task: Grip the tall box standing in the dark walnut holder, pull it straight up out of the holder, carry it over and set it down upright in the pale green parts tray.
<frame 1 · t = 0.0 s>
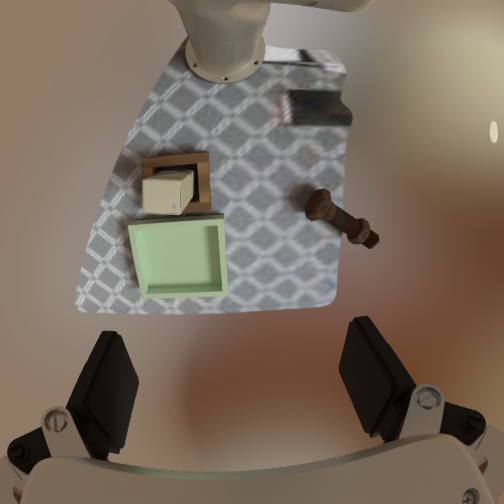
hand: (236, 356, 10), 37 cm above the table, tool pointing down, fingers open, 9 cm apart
box: (179, 181, 43), resting in holder
tray: (181, 255, 48), on the table
holder: (179, 181, 43), on the table
bolt: (340, 219, 48), on the table
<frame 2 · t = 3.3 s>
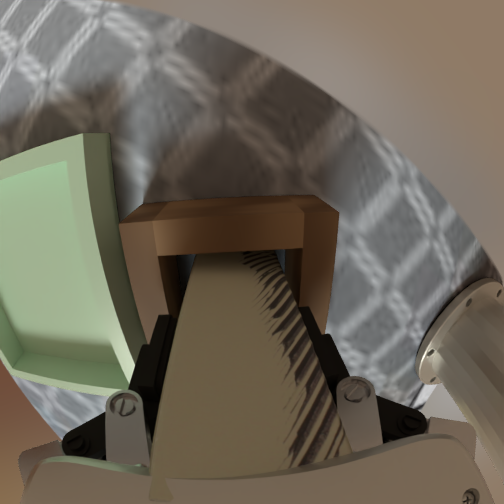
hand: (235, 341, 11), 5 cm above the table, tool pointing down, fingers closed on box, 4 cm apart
box: (232, 282, 16), resting in holder, touching gripper
tray: (42, 276, 14), on the table
holder: (232, 284, 16), on the table
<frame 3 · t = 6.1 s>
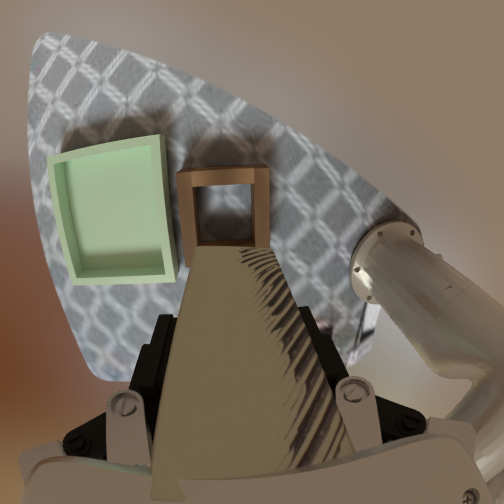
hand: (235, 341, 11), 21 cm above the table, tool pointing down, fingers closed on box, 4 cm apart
box: (231, 281, 16), point 16 cm above the table, touching gripper
tray: (114, 211, 29), on the table
holder: (224, 210, 30), on the table
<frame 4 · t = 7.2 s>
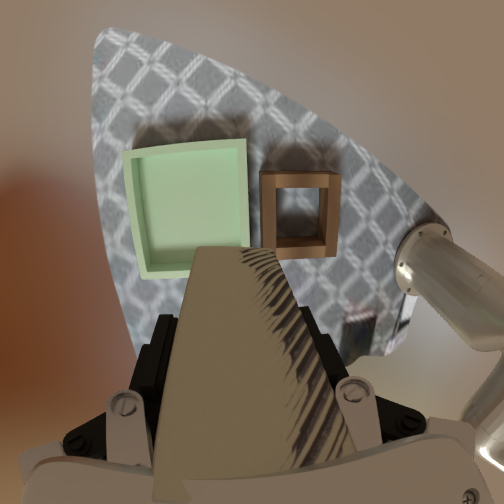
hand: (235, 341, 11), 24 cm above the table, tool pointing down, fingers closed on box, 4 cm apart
box: (231, 281, 16), point 19 cm above the table, touching gripper
tray: (190, 207, 33), on the table
holder: (295, 210, 34), on the table
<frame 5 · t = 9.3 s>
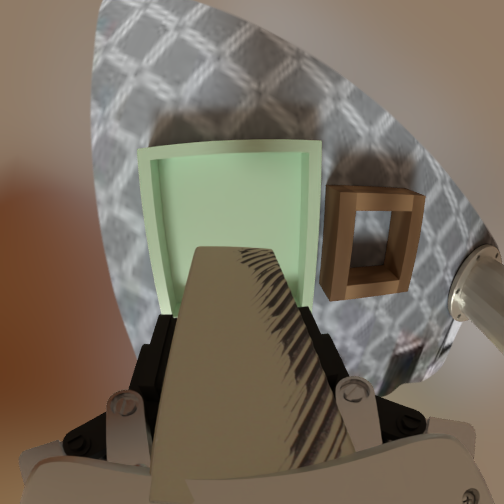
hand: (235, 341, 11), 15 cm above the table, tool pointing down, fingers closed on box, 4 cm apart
box: (231, 282, 16), point 10 cm above the table, touching gripper
tray: (232, 230, 25), on the table
holder: (364, 235, 26), on the table
when the fingers open (7 cm above the table, at t = 11.1 s): box drops 1 cm, resting on tray.
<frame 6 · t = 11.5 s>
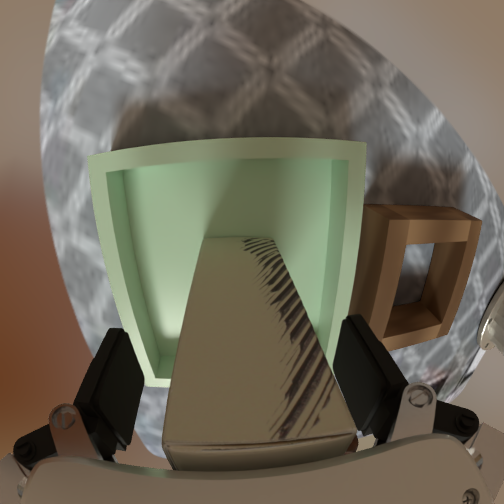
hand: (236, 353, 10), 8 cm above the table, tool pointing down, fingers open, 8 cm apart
box: (236, 270, 17), resting on tray
tray: (231, 268, 18), on the table
holder: (403, 268, 19), on the table
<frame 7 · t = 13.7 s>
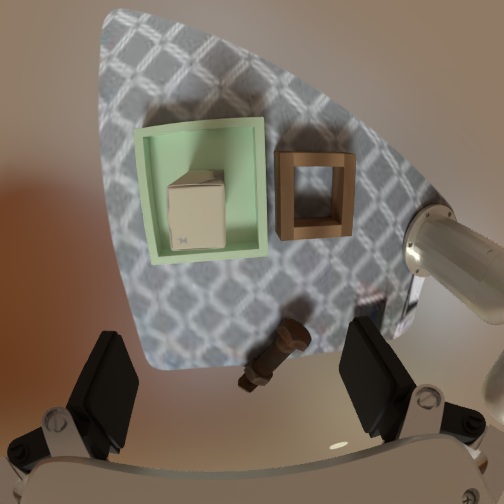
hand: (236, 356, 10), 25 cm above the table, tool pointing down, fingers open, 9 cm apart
box: (205, 188, 31), resting on tray
tray: (203, 188, 32), on the table
holder: (310, 191, 33), on the table
bolt: (266, 350, 43), on the table
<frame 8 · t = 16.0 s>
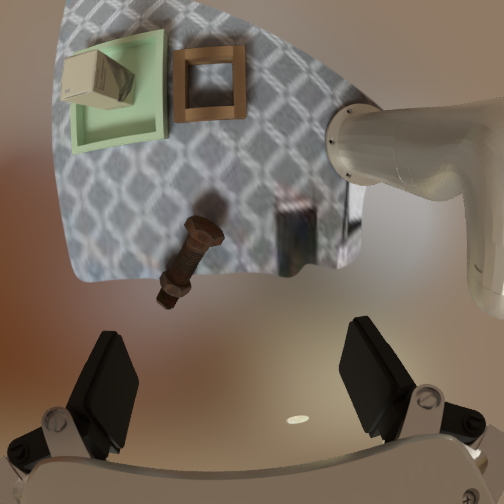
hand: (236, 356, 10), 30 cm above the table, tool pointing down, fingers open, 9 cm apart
box: (121, 91, 30), resting on tray
tray: (120, 92, 30), on the table
holder: (210, 86, 32), on the table
bolt: (185, 260, 42), on the table
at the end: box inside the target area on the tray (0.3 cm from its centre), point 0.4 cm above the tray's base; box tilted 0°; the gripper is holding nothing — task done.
